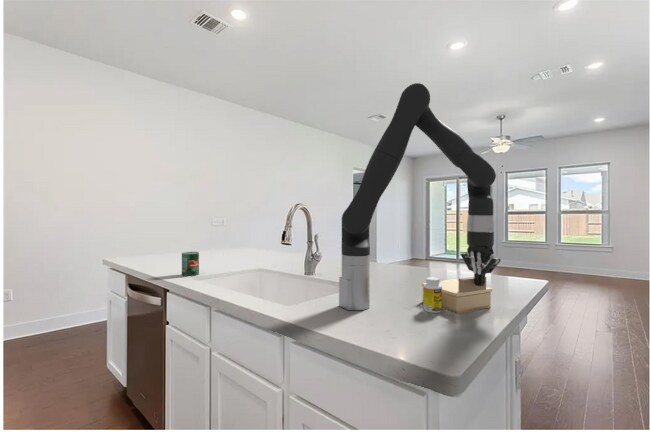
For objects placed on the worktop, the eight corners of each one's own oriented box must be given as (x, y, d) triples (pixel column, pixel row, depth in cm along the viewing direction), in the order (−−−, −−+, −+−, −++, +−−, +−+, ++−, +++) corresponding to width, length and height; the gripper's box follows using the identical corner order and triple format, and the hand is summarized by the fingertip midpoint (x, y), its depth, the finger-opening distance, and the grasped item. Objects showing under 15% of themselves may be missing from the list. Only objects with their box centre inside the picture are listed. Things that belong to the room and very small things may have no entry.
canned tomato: (195, 276, 155) (195, 253, 155) (178, 276, 155) (178, 253, 155) (201, 273, 163) (201, 251, 163) (186, 273, 163) (185, 251, 163)
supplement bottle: (434, 314, 99) (434, 281, 99) (419, 309, 104) (419, 278, 104) (445, 311, 102) (445, 279, 102) (431, 307, 107) (431, 276, 107)
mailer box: (456, 313, 100) (456, 297, 100) (422, 301, 114) (422, 287, 113) (490, 307, 106) (490, 292, 106) (454, 296, 120) (454, 283, 120)
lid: (456, 296, 99) (457, 280, 99) (421, 286, 114) (421, 271, 113) (492, 291, 106) (492, 276, 106) (454, 281, 120) (454, 268, 120)
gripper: (454, 229, 105) (453, 282, 105) (490, 231, 93) (489, 292, 93) (471, 228, 108) (470, 280, 108) (508, 231, 96) (507, 289, 96)
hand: (479, 285), depth 101 cm, fingers closed
